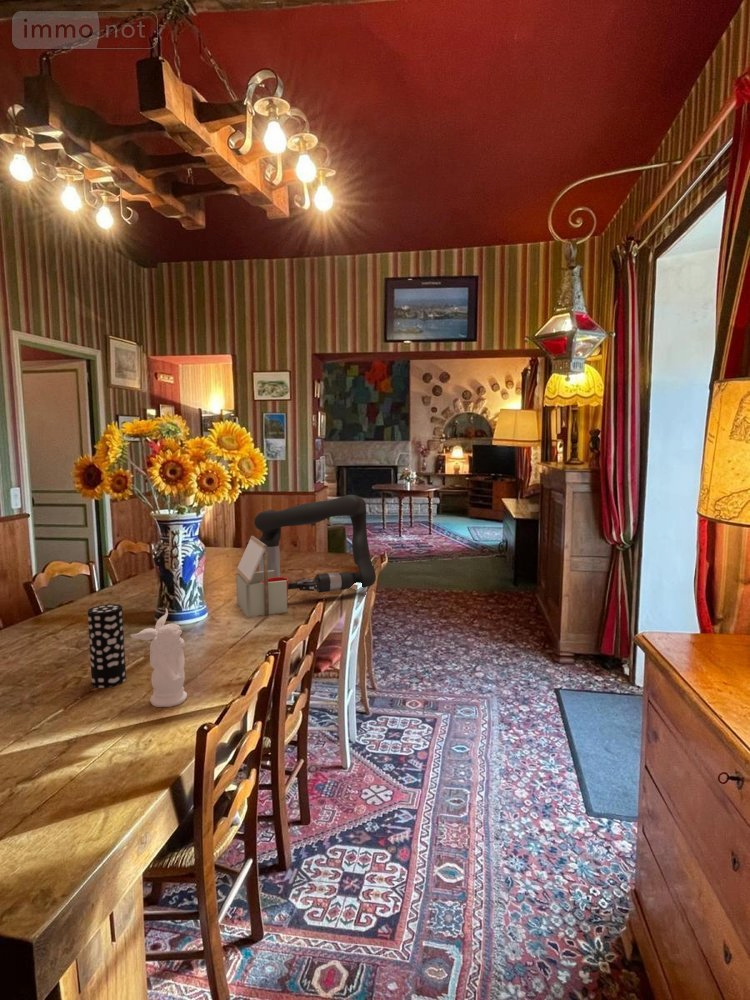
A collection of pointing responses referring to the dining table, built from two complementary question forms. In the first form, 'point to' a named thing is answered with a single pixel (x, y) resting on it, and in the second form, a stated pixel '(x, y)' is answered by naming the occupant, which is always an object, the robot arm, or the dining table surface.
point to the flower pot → (278, 580)
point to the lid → (251, 559)
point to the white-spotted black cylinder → (106, 645)
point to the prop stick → (266, 584)
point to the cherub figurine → (166, 662)
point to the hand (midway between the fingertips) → (286, 586)
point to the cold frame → (261, 595)
